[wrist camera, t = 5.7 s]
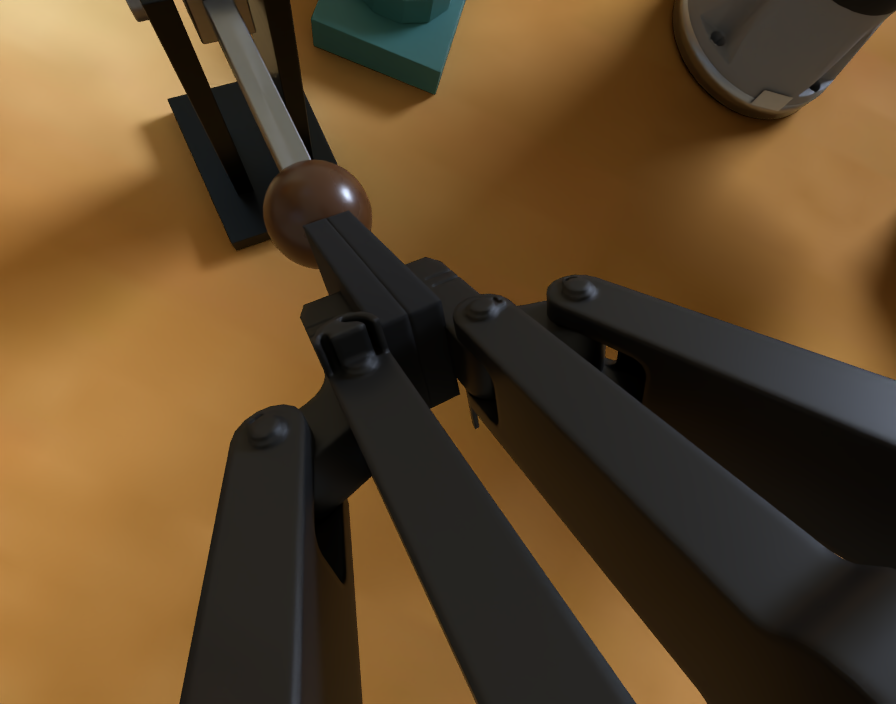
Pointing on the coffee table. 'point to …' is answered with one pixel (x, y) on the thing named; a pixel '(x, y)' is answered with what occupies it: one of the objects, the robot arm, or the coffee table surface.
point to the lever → (279, 137)
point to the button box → (390, 35)
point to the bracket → (235, 114)
